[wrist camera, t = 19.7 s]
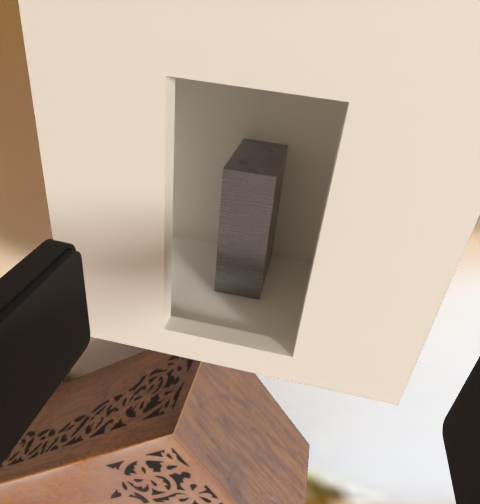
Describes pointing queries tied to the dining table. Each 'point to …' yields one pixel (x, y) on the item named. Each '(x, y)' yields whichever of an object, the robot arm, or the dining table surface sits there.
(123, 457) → the tissue box cover
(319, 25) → the white rectangular block
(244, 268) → the brushed metal block
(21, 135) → the dining table surface
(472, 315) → the dining table surface
